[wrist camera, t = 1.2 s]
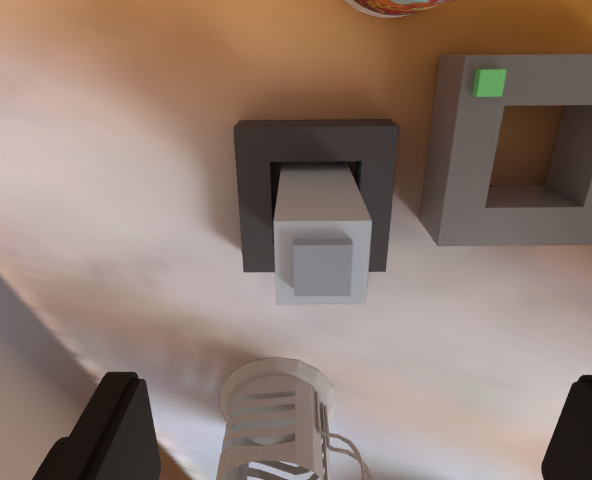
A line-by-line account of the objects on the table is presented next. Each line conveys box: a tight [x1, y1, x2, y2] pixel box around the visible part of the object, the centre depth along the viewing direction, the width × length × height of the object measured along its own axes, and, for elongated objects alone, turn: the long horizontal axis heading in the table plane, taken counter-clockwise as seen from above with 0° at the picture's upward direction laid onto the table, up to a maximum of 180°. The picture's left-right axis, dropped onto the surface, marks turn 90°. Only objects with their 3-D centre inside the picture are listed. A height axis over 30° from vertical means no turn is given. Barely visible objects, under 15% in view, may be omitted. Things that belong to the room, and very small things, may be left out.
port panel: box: [419, 53, 592, 246], centre depth 23 cm, size 10×10×5 cm
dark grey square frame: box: [234, 119, 399, 272], centre depth 26 cm, size 9×9×2 cm
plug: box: [274, 161, 372, 304], centre depth 22 cm, size 4×4×11 cm
